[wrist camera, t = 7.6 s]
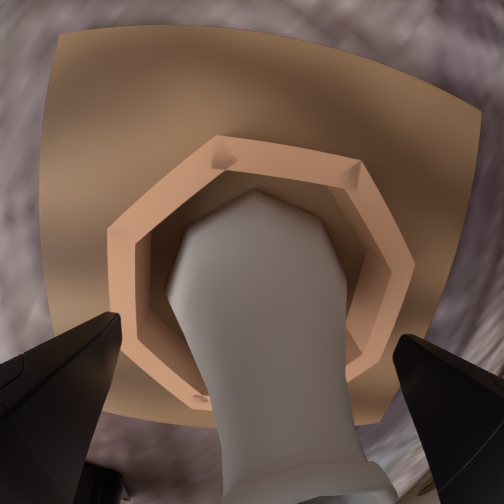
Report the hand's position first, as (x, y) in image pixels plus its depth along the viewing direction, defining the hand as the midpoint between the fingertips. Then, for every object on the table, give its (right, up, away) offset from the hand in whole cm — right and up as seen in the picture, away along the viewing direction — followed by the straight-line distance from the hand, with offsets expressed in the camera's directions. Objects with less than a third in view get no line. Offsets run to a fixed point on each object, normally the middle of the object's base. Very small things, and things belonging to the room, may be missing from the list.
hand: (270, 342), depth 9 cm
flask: (0, +2, +4) cm, 4 cm away
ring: (0, +1, +4) cm, 4 cm away
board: (0, +2, +5) cm, 6 cm away
